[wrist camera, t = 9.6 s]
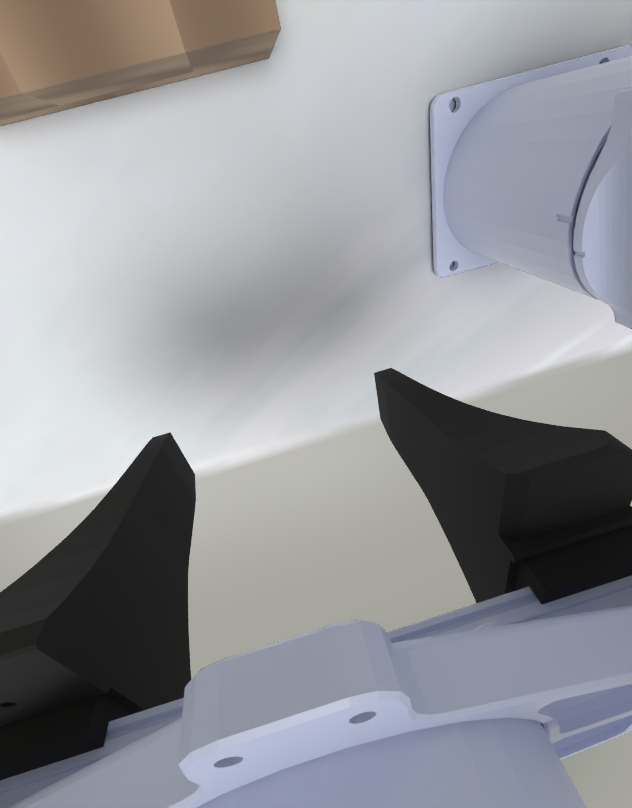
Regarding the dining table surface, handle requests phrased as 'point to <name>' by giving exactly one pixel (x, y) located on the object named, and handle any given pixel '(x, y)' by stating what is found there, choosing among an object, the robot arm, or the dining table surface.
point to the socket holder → (120, 47)
